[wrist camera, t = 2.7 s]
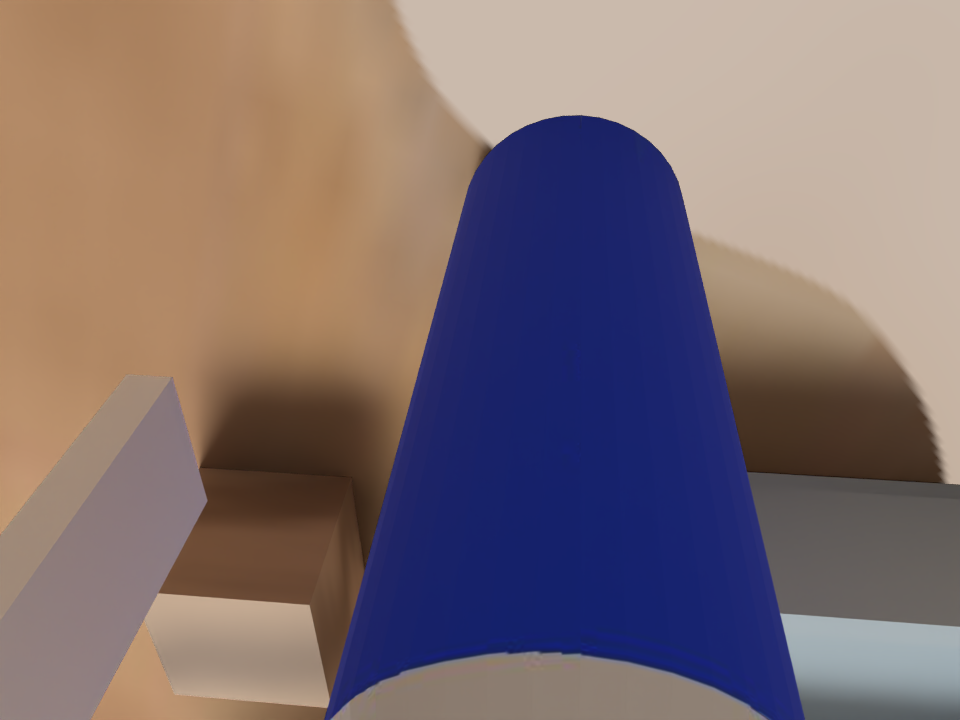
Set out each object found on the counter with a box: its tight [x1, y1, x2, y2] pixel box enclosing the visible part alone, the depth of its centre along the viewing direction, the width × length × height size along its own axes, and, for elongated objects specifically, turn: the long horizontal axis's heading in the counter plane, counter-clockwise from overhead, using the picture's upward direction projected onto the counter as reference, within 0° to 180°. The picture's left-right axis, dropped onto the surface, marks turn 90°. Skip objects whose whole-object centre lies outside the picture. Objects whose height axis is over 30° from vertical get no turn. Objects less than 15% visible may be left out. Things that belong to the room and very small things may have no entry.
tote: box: [747, 472, 960, 720], centre depth 26 cm, size 14×18×5 cm
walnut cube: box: [144, 468, 365, 708], centre depth 26 cm, size 5×5×5 cm
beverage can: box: [324, 115, 805, 720], centre depth 14 cm, size 5×5×15 cm
